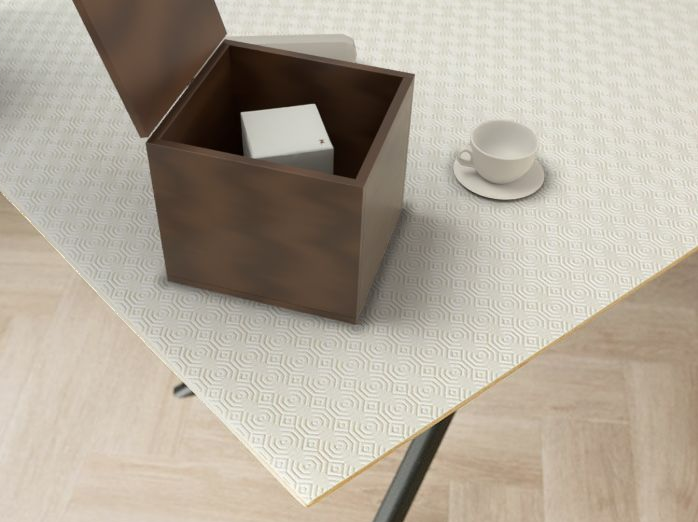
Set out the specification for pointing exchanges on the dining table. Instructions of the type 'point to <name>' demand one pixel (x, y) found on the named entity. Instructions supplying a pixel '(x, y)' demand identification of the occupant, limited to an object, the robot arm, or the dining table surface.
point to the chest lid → (152, 49)
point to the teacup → (500, 160)
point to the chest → (282, 181)
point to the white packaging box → (288, 137)
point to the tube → (305, 45)
